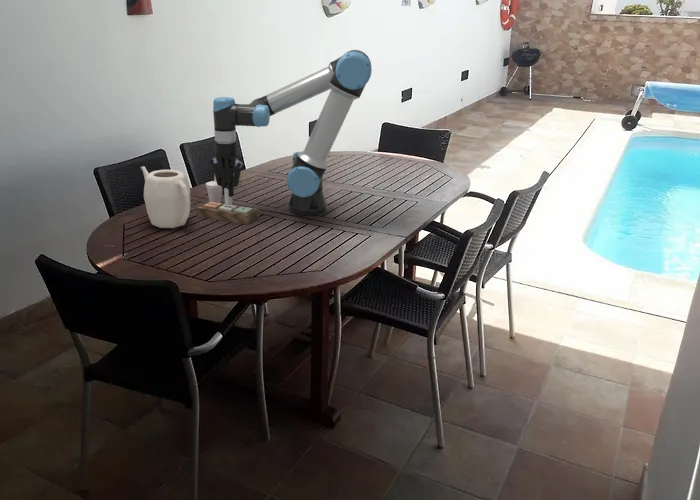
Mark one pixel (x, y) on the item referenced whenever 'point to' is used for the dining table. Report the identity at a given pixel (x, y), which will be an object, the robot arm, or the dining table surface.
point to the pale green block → (243, 210)
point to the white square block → (228, 208)
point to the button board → (228, 215)
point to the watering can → (166, 197)
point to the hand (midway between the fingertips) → (228, 204)
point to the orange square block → (213, 205)
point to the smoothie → (214, 191)
